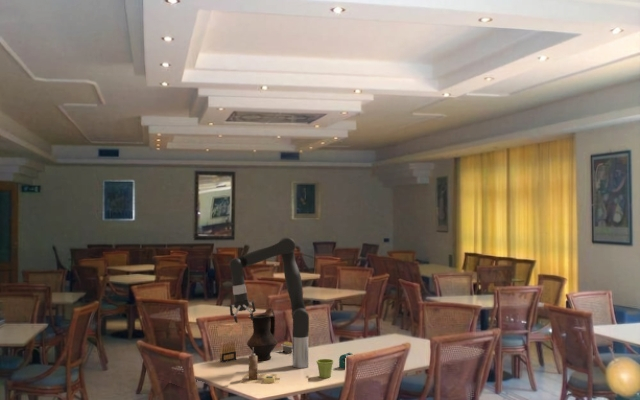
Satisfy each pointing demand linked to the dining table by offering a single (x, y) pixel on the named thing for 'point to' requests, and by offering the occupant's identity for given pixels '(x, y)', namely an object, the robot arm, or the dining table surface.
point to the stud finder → (269, 379)
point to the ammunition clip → (228, 352)
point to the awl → (253, 366)
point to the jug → (263, 334)
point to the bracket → (343, 360)
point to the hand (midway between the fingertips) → (244, 321)
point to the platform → (287, 347)
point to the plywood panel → (259, 378)
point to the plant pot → (325, 367)
